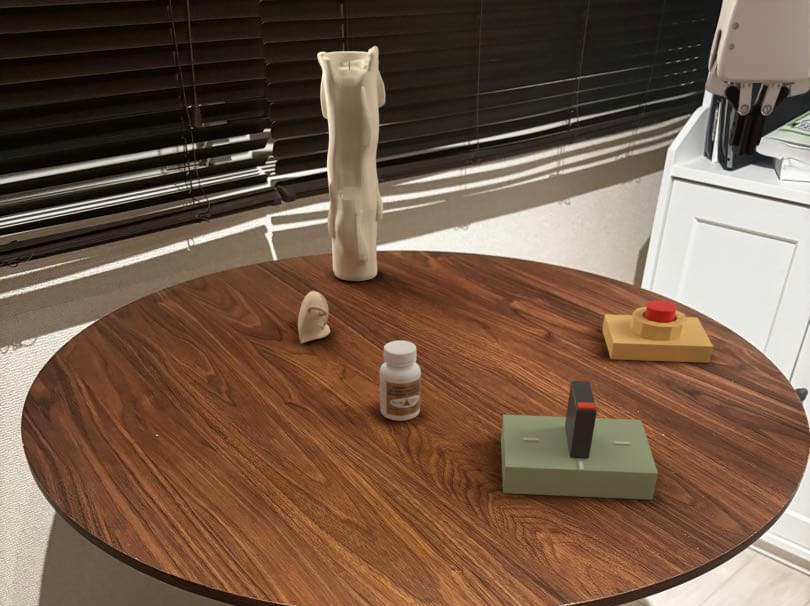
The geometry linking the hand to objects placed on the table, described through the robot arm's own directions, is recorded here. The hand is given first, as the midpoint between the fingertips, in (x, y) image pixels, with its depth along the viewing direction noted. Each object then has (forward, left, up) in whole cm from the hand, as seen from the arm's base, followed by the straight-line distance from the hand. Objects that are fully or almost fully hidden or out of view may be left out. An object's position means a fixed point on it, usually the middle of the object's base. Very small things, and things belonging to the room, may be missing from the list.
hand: (741, 152), depth 91 cm
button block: (+6, +2, -23) cm, 23 cm away
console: (+19, +32, -23) cm, 43 cm away
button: (+6, +2, -19) cm, 20 cm away
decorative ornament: (+50, +2, -23) cm, 55 cm away
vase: (+47, -20, -23) cm, 56 cm away
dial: (+19, +32, -20) cm, 42 cm away
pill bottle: (+37, +22, -23) cm, 48 cm away
